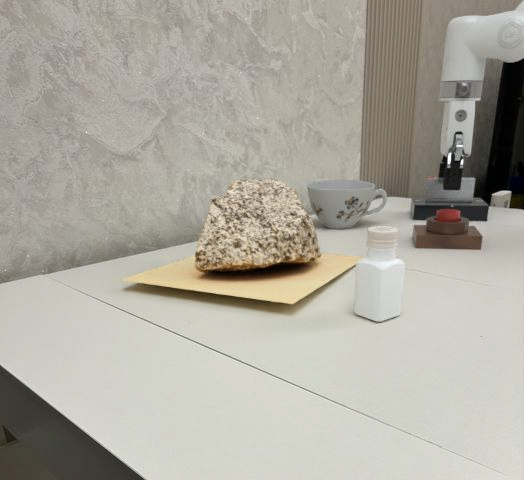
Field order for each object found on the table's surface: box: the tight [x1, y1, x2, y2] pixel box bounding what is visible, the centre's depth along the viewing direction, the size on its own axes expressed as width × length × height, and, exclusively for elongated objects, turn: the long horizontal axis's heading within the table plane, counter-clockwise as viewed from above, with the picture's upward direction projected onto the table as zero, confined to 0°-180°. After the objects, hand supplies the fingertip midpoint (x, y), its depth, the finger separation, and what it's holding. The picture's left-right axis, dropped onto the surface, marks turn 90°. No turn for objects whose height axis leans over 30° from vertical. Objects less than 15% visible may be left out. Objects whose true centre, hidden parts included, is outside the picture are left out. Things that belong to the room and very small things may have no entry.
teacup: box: [306, 178, 388, 230], centre depth 104 cm, size 15×12×8 cm
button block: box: [412, 216, 484, 251], centre depth 90 cm, size 10×8×4 cm
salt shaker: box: [353, 225, 406, 323], centre depth 58 cm, size 4×4×10 cm
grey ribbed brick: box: [425, 175, 476, 202], centre depth 110 cm, size 9×2×5 cm, turn 79°
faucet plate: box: [409, 196, 490, 222], centre depth 112 cm, size 14×13×3 cm
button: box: [436, 209, 460, 222], centre depth 89 cm, size 4×4×2 cm
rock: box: [120, 178, 365, 305], centre depth 76 cm, size 28×22×16 cm
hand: (448, 186), depth 110 cm, fingers open, 9 cm apart
